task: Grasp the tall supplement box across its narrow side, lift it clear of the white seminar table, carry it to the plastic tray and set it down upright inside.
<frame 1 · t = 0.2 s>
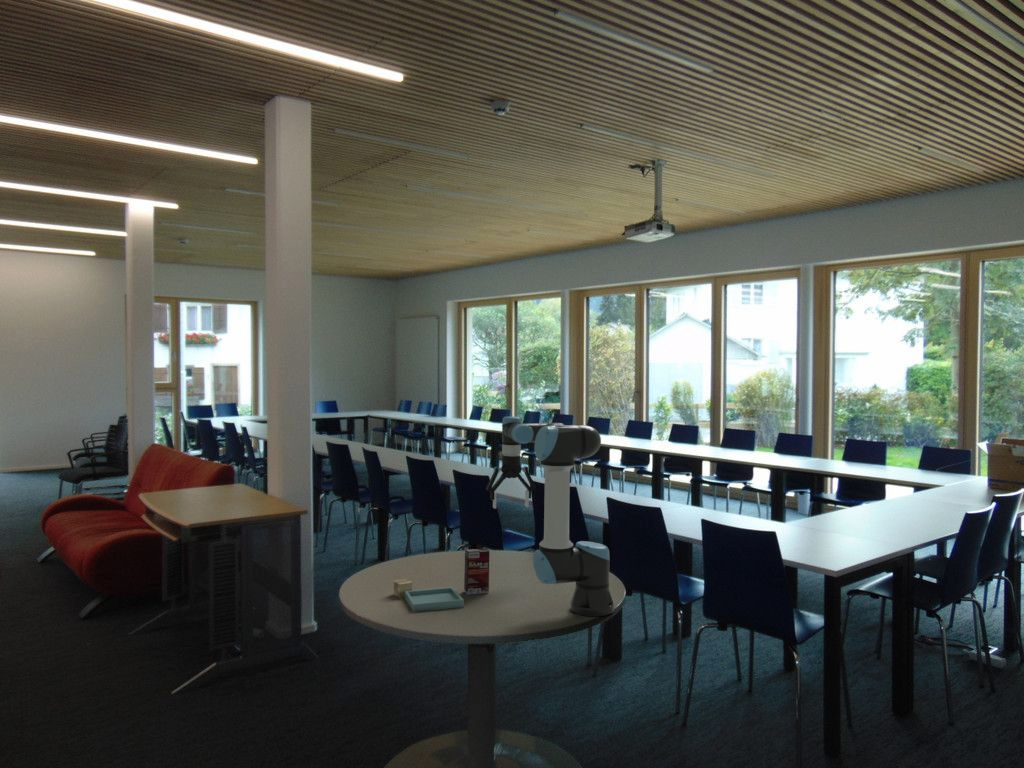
hand: (510, 507, 302), 28 cm above the table, fingers open, 13 cm apart
tray: (433, 602, 268), on the table
supplement box: (476, 592, 280), on the table
oak cube: (402, 595, 276), on the table
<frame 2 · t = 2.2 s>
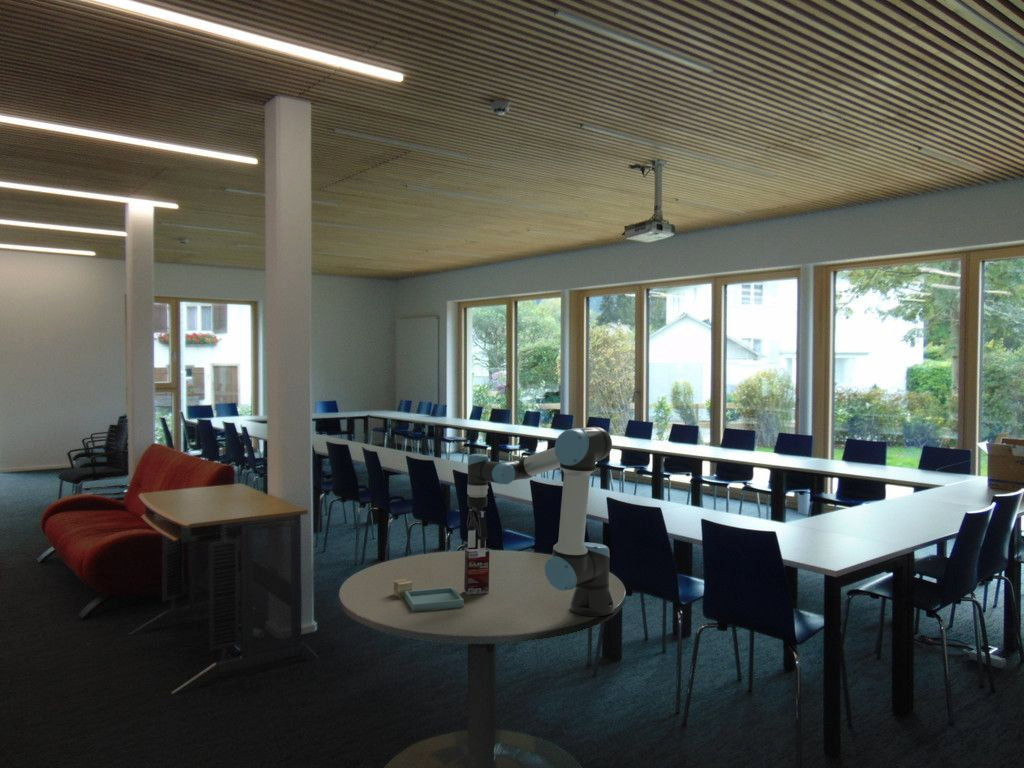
hand: (476, 551, 280), 15 cm above the table, fingers open, 13 cm apart
nothing on the table moved.
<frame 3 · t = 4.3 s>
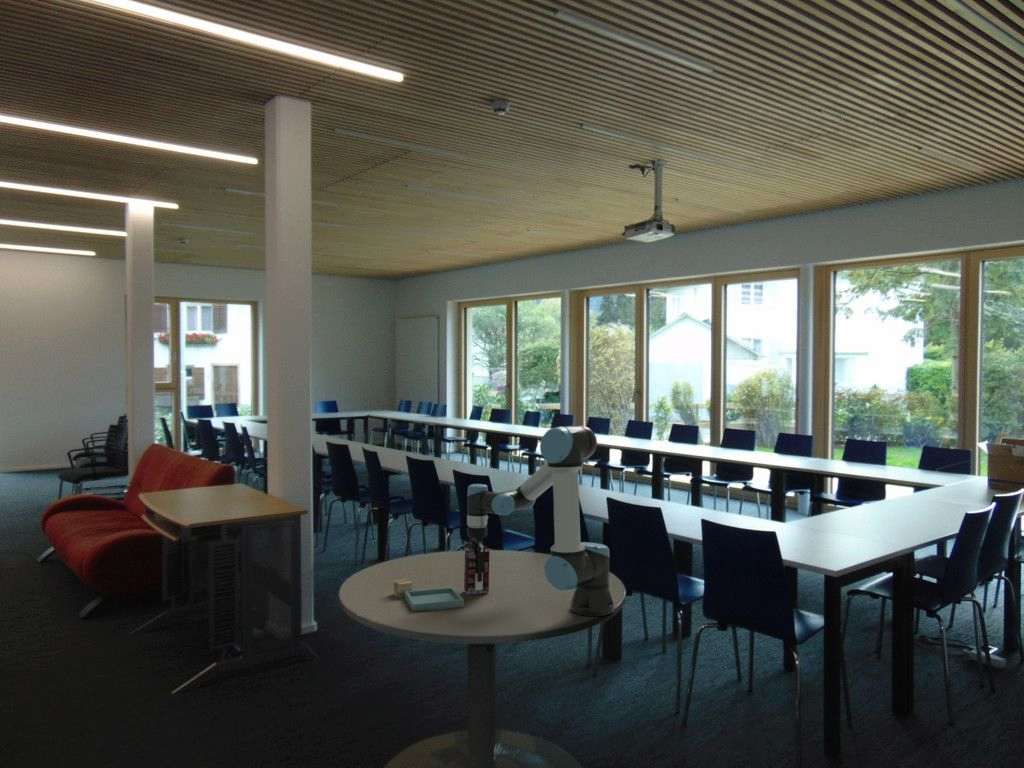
hand: (476, 587, 280), 2 cm above the table, fingers closed on supplement box, 5 cm apart
supplement box: (476, 592, 280), on the table, touching gripper
everything else where it was.
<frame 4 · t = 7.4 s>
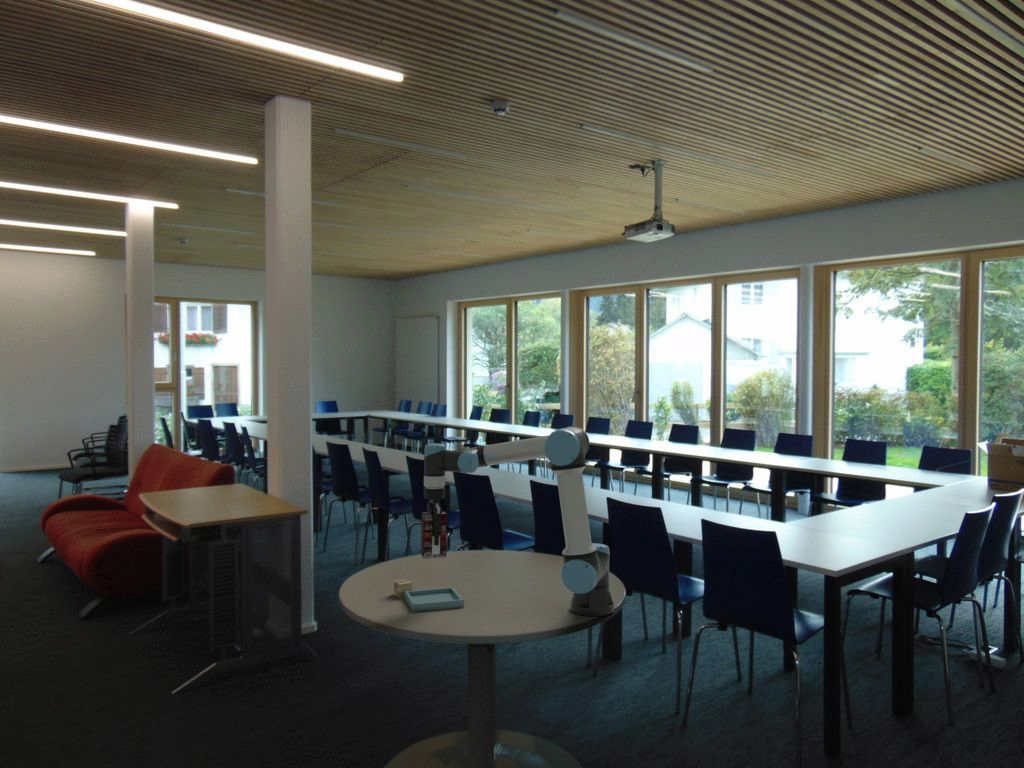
hand: (434, 552, 267), 18 cm above the table, fingers closed on supplement box, 5 cm apart
supplement box: (434, 557, 267), point 16 cm above the table, touching gripper
everything else where it was.
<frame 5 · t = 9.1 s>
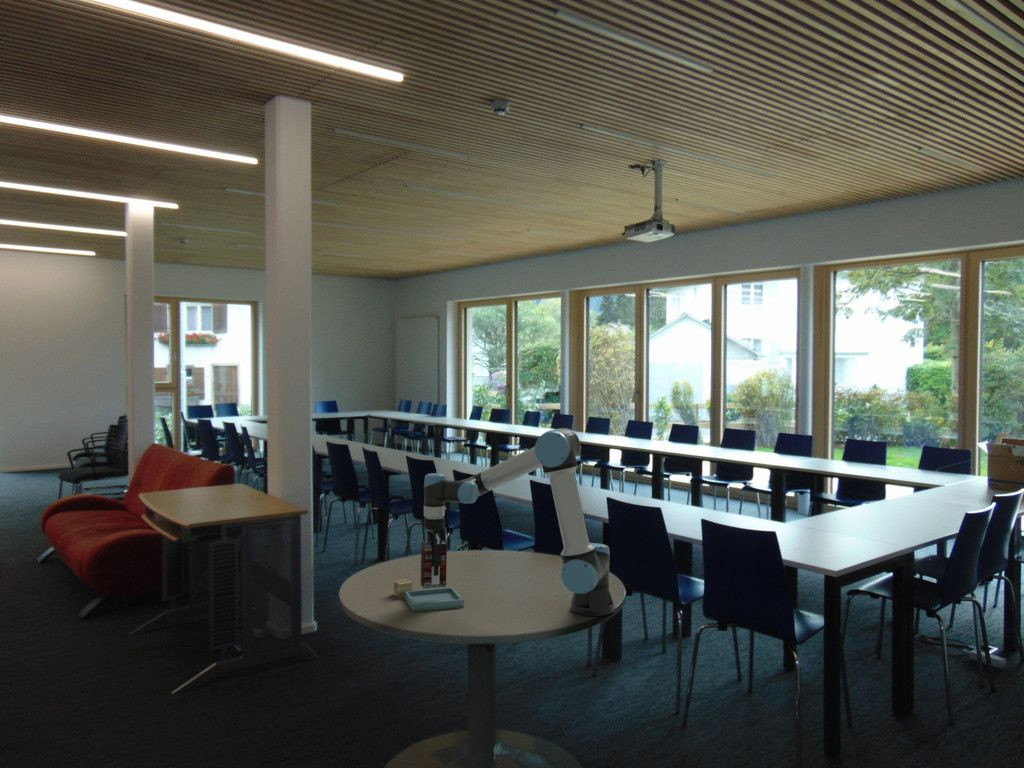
hand: (433, 581, 268), 7 cm above the table, fingers closed on supplement box, 5 cm apart
supplement box: (433, 587, 268), point 5 cm above the table, touching gripper
everything else where it was.
when the fingers open (4 cm above the table, at t = 10.5 s): supplement box drops 1 cm, resting on tray.
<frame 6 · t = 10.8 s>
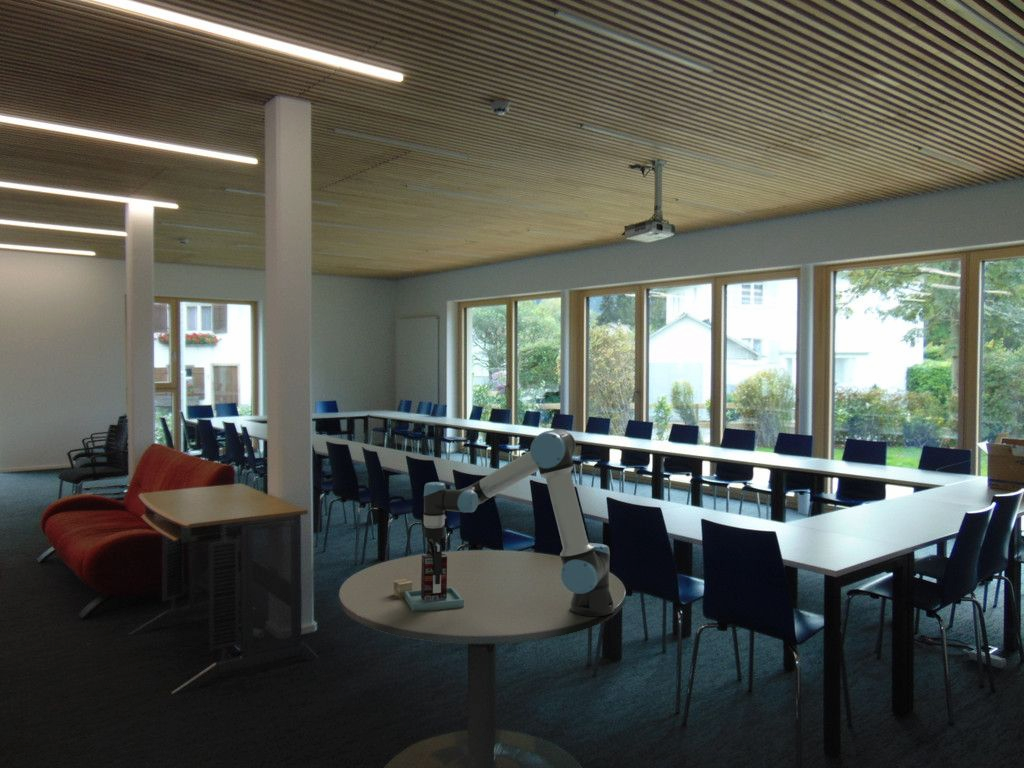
hand: (433, 588, 268), 5 cm above the table, fingers open, 9 cm apart
supplement box: (434, 600, 268), point 1 cm above the table, touching tray
everything else where it was.
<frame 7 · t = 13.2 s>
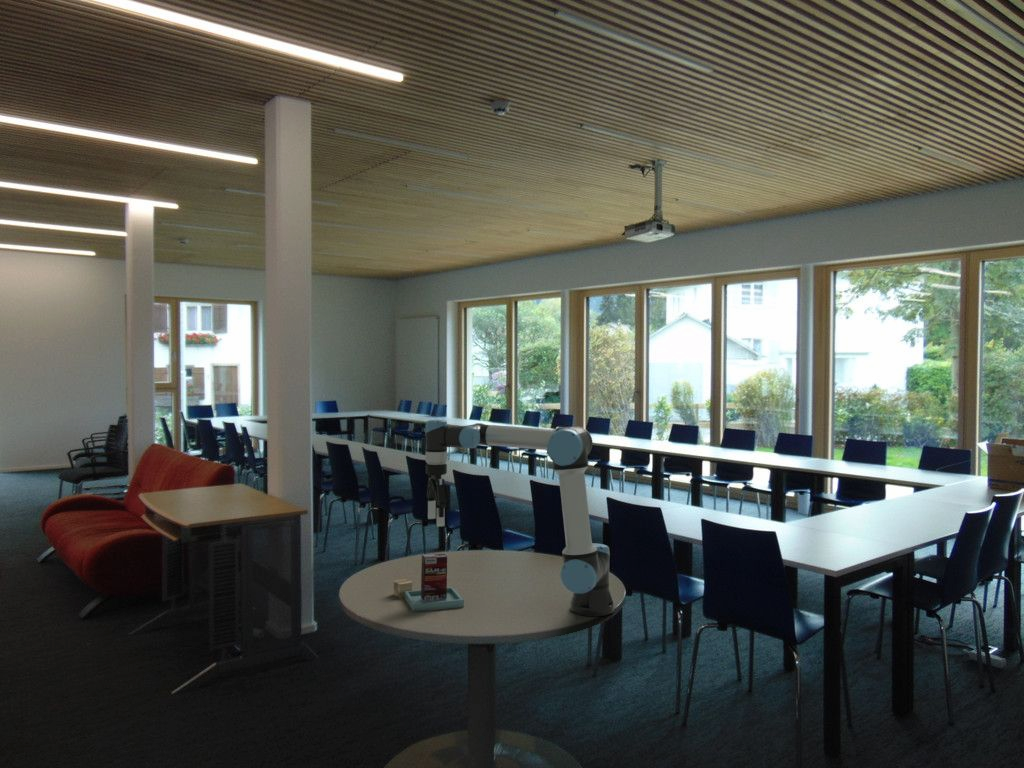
hand: (436, 522, 268), 29 cm above the table, fingers open, 13 cm apart
nothing on the table moved.
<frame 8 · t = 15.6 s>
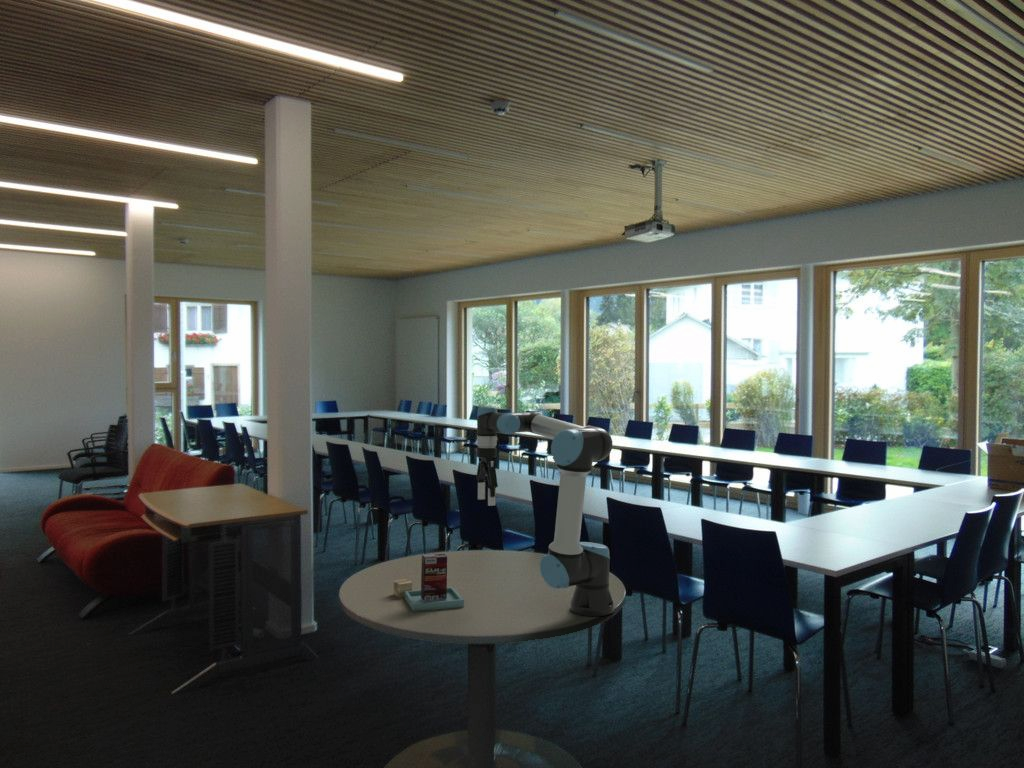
hand: (486, 502, 286), 33 cm above the table, fingers open, 13 cm apart
nothing on the table moved.
at the end: supplement box inside the target area on the tray (0.2 cm from its centre), point 0.8 cm above the tray's base; supplement box tilted 0°; the gripper is holding nothing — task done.
